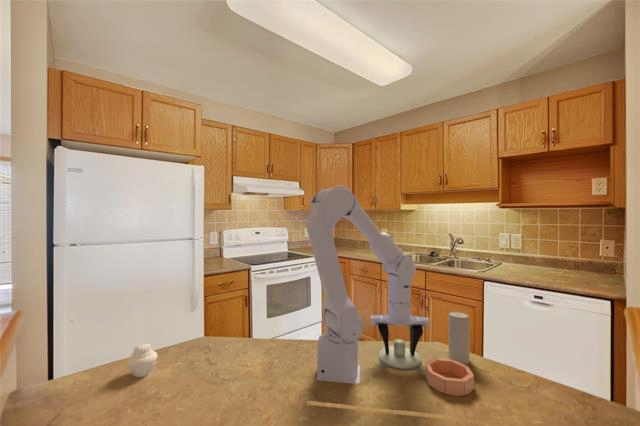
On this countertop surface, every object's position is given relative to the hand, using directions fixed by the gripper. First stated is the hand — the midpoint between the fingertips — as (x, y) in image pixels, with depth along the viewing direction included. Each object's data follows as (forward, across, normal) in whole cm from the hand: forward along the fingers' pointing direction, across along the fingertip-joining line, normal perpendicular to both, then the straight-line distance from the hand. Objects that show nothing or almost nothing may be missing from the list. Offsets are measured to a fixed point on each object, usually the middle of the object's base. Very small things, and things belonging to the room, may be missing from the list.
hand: (399, 353), depth 74 cm
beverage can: (+2, +15, +1) cm, 15 cm away
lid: (+1, 0, 0) cm, 1 cm away
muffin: (+2, -62, -13) cm, 63 cm away
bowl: (+2, +9, -10) cm, 14 cm away
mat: (+2, 0, 0) cm, 2 cm away
